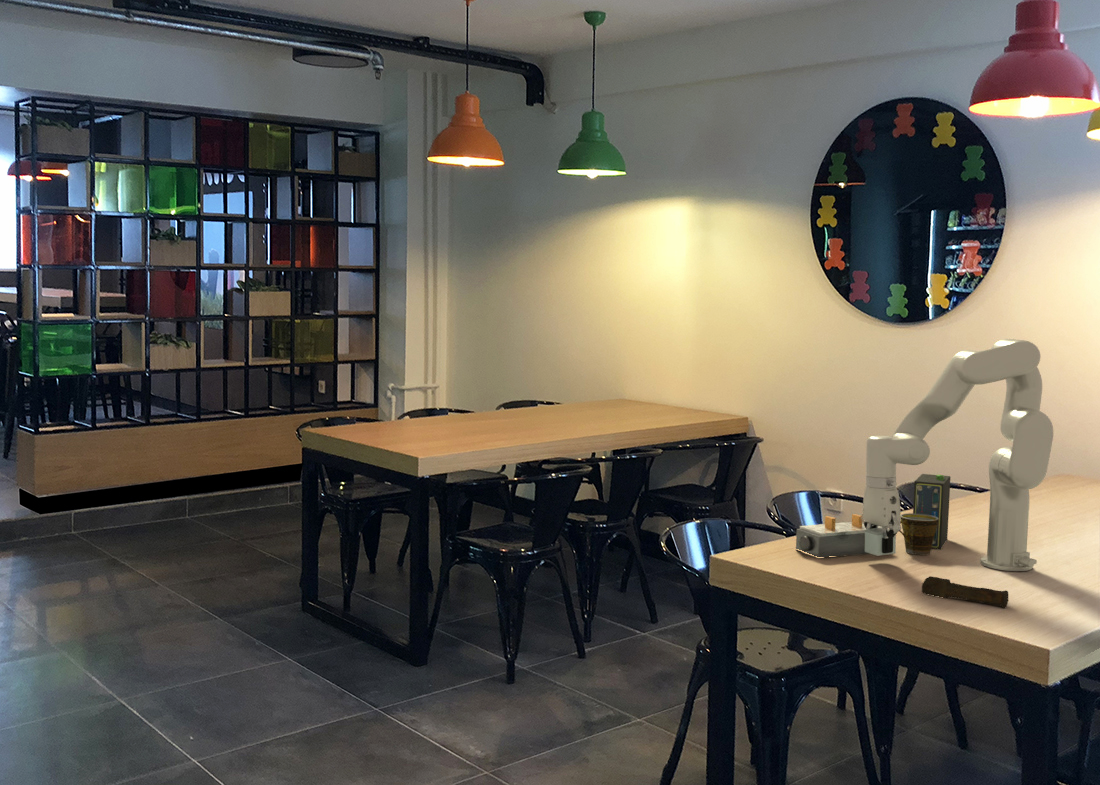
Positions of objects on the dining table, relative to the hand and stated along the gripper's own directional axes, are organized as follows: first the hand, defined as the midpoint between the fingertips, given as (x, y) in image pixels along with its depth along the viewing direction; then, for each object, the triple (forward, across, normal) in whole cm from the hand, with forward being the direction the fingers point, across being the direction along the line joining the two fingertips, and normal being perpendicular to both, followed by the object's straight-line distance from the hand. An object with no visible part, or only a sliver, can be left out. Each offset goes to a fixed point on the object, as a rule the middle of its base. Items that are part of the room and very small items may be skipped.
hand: (880, 549), depth 273 cm
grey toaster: (+3, +14, +1) cm, 15 cm away
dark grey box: (+5, +14, -30) cm, 34 cm away
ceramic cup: (+4, +6, -17) cm, 19 cm away
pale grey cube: (+1, 0, 0) cm, 1 cm away
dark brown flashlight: (+4, -35, +6) cm, 36 cm away
